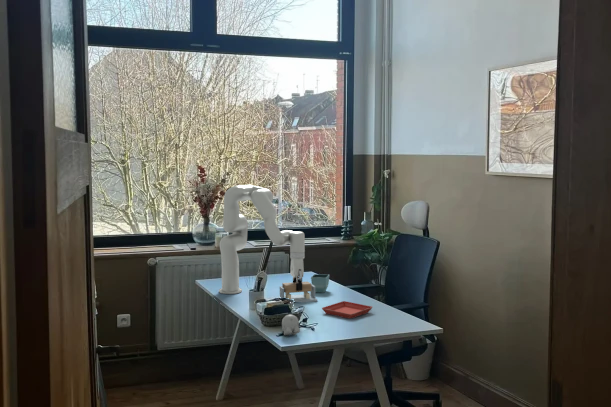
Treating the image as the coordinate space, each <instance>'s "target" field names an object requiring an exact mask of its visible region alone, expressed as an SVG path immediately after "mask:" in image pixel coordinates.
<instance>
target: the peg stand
mask: <svg viewBox="0 0 611 407" xmlns="http://www.w3.org/2000/svg"><path fill="white" fill-rule="evenodd" d="M279 296H280V297H281V298H284V297H285V298H289V299H294V301H295V302H301V303H312V302H313V303H315V302H318V298H316V292H315V286H314V285H312V283H311V291H308V292H303V294H292V293H285V292H284V288H283V287H282V285H280V286H279Z"/></svg>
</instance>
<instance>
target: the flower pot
mask: <svg viewBox="0 0 611 407" xmlns="http://www.w3.org/2000/svg"><path fill="white" fill-rule="evenodd" d="M310 281H311V282H310V283H311V284H312V285H314V286H315V293H325V292H326V291H327V289H328V287H329V283H330V274H323V273H322V274H320V273H319V274H318V273H317V274H316V273H315V274H312V276H311V277H310Z"/></svg>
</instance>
